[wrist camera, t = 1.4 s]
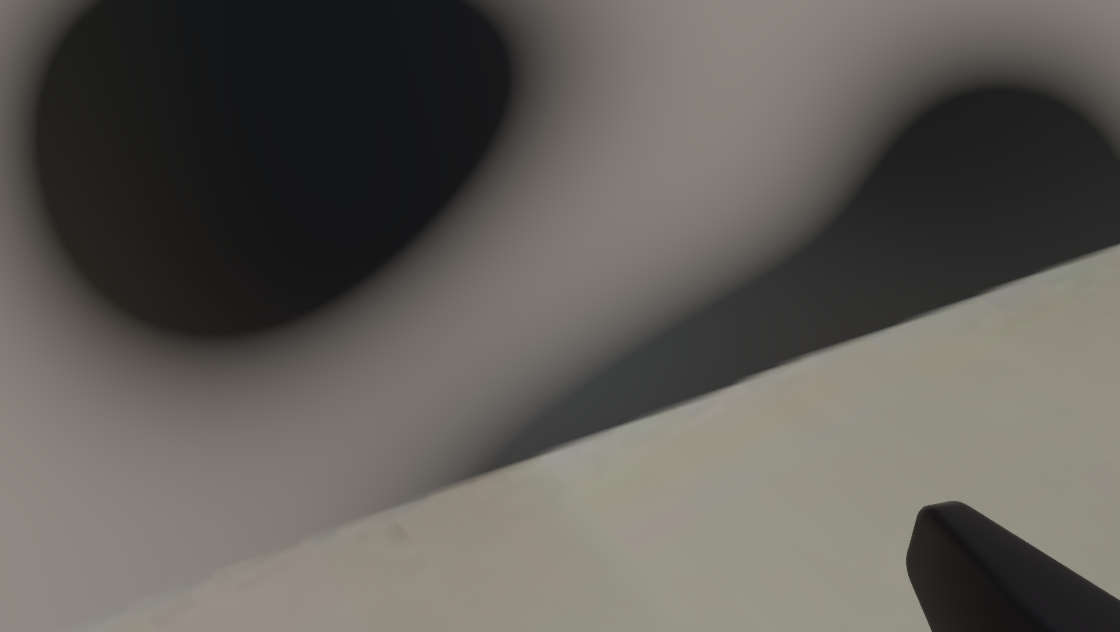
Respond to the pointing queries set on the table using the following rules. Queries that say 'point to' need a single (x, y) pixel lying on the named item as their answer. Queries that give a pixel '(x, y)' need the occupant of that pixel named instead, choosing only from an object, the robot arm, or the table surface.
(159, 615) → the table surface
